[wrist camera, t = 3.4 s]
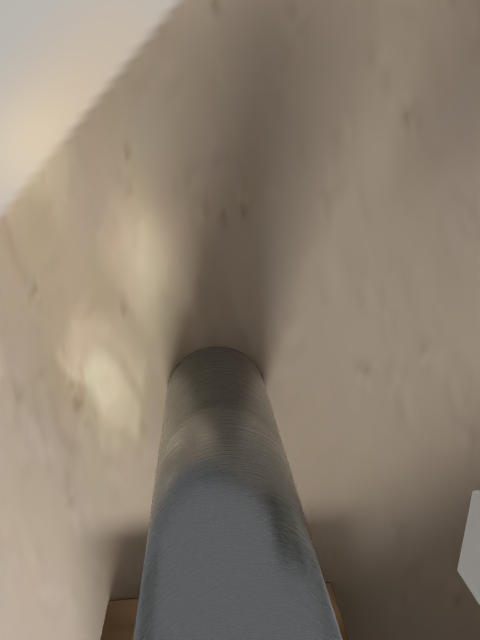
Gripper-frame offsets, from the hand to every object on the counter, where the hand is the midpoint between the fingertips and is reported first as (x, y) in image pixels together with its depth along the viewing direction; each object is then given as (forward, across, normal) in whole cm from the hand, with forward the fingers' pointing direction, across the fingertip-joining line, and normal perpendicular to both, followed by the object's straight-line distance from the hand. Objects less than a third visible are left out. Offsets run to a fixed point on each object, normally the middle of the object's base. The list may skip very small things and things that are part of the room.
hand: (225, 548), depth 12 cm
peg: (+10, 0, 0) cm, 10 cm away
